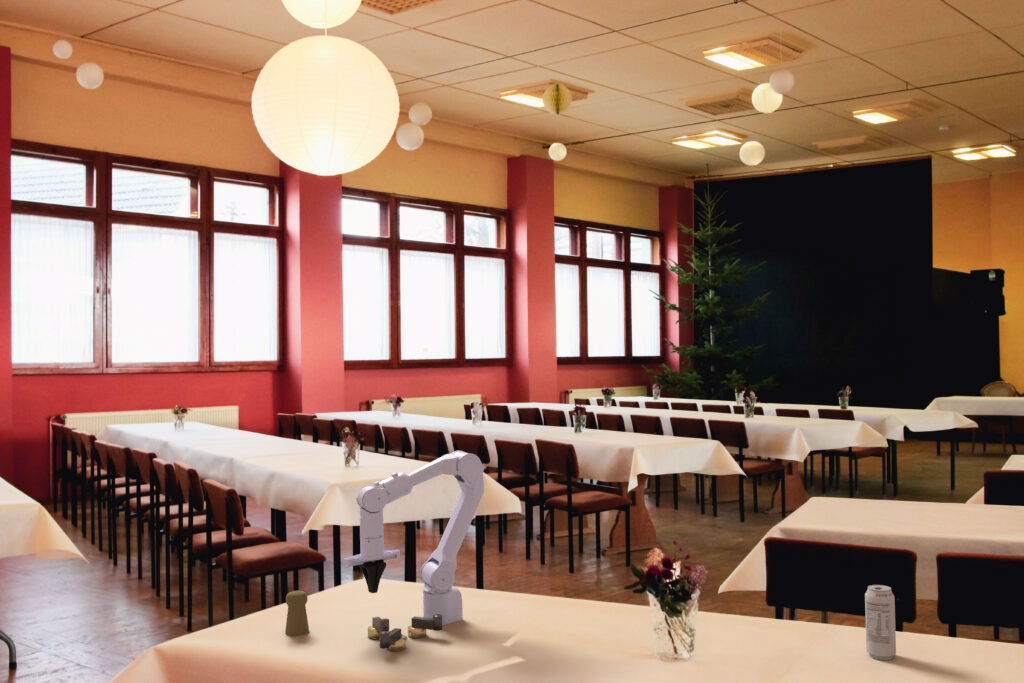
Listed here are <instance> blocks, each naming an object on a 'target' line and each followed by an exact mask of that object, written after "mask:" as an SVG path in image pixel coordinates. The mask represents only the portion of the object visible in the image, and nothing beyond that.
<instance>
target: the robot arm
mask: <svg viewBox="0 0 1024 683" xmlns="http://www.w3.org/2000/svg"><path fill="white" fill-rule="evenodd" d="M484 471H485V466H484V465H483V463H482V461H481V459H480V457H479V456H477V454H474V453H468V452H465V451H464V450H459V449H458V450H455V451H452V452H451V453H447V454H446V453H445V454H443V455H441V457H437V459H436V458H435V459H434V460H432V461H431V462H429V463H427V464H424V465H423V466H421V467H420V468H417V469H416V470H414V471H412V472H409V473H408V474H406V473H404V472H395V471H394V472H393V473H390V474H391V475H390V477H387V478H386V479H383V480H381V481H378V480H377V481H375V482H373V484H374V485H373V486H372V485H371V486H370V485H369V486H365V487H363V488H361V489H360V491H359V492H358V494H357V497H356V503H357V505H358V506H359V514H360V515H359V541H360V544H359V545H360V546H359V547H360V548H359V549H360V550H359V551H360V553H359V554H355V555H352V556H349V557H344V558H343V567H345V568H352V567H354V566H358V567H359V569H360V570H361V573H362V574H363V577H364V579H365V582H366V585H367V590H368V593H371V594H377V593H378V592H379V591H378V590H379V585H380V581H381V580H382V579H381V578H382V576H383V573H384V572H385V570H386V568H387V562H385V561H387V560H393V559H394V560H395V559H396V560H397V559H399V560H400V559H401V550H399V549H387V550H385V538H384V537H385V535H384V533H385V532H384V531H385V530H384V528H385V527H384V526H385V525H384V508H385V506H386V505H389V504H391V503H393V502H395V501H397V500H399V499H401V498H403V497H405V496H408V495H410V494H411V492H412V491H413V488H414V487H415V486H417V485H420V484H422V483H424V482H427V481H429V480H431V479H433V478H436V477H438V476H440V475H447V476H453V477H454V478H455V479H456V481H457V483H458V484H459V487H460V489H461V492H460V495H459V496H458V499H457V501H456V504H455V507H454V508H453V511H452V514H451V515H450V517H449V521H448V522H447V525H446V527H445V529H444V532H443V534H442V536H441V538H440V540H439V543H438V546H437V548H436V549H435V550H433V552H432V553H431V554H430V556H429V558H428V559H427V561H425V562H424V563H423V564H422V566H421V567H420V571H419V575H420V576H419V577H420V579H421V581H422V582H424V584H423V588H422V594H423V595H422V599H423V600H422V602H423V605H422V608H423V612H422V613H423V617H425V618H433V615H436V614H440V615H442V626H444V625H446V626H447V625H448V624H451V623H454V622H455V623H456V622H459V621H463V619H464V618H463V614H464V613H463V595H462V593H461V591H460V589H459V588H458V587H456V586H454V584H455V581H456V578H455V574H456V571H457V568H458V566H457V565H458V564H457V555H458V554H459V551H460V549H461V547H462V545H463V542H464V540H465V537H466V535H467V532H468V530H469V528H470V525H471V523H472V521H473V518H474V515H475V514H476V511H477V509H478V508H479V504H480V502H481V500H482V497H483V495H484V491H485V488H484V487H485V484H484Z"/></svg>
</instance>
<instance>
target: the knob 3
mask: <svg viewBox="0 0 1024 683" xmlns="http://www.w3.org/2000/svg"><path fill="white" fill-rule="evenodd" d="M427 630H431V631H436V632H441V631H442V630H443V625H442V615H440V614H436V615H433V618H425V617H424V616H417V615H416V616H413V617H411V624H410V625H408V626H407V638H410V639H422V638H425V637H426V636H427Z"/></svg>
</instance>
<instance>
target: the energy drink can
mask: <svg viewBox="0 0 1024 683" xmlns="http://www.w3.org/2000/svg"><path fill="white" fill-rule="evenodd" d="M895 603H896V602H895V595H894V593H893V591H892V587H890V586H887V585H884V584H872V585H871V584H870V585H868V586H867V590H866V591H865V593H864V604H865V605H864V611H865V616H864V617H865V642H866V643H865V646H866V648H865V650H866V653H868V656H869V657H870V658H872V659H875V660H878V661H879V660H880V661H889V660H892V659H894V656H896V654H897V646H896V644H897V642H896V641H897V640H896V635H897V634H896V605H895Z"/></svg>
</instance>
